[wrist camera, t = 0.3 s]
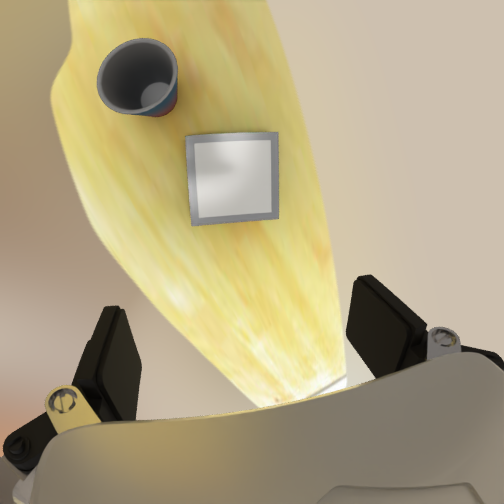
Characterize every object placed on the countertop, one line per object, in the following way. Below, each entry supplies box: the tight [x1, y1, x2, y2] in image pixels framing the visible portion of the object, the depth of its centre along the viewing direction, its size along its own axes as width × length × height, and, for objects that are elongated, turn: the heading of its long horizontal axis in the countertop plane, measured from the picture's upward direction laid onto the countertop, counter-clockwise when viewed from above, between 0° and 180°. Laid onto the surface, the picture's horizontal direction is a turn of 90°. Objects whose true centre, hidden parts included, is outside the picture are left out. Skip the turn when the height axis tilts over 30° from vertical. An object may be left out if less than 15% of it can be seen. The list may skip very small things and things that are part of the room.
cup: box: [97, 38, 178, 117], centre depth 25 cm, size 7×7×15 cm
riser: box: [185, 132, 279, 226], centre depth 36 cm, size 11×11×4 cm
